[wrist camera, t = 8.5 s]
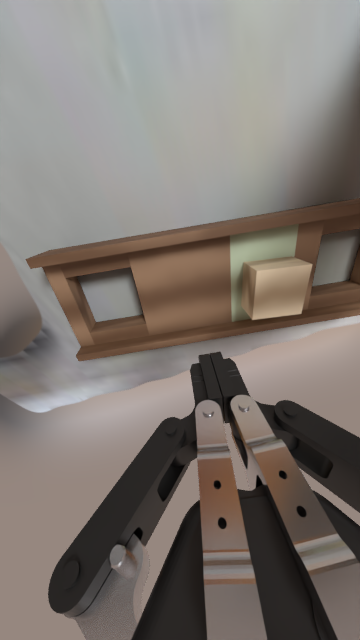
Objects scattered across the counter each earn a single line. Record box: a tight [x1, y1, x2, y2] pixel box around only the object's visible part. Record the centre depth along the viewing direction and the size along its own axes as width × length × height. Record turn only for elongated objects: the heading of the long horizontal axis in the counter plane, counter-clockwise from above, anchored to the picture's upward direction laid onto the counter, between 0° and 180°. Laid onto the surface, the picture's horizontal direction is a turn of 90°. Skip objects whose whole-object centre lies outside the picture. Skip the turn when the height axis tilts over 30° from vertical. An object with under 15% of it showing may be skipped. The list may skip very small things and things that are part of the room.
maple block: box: [241, 256, 313, 320], centre depth 24 cm, size 6×6×4 cm
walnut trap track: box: [26, 198, 360, 361], centre depth 26 cm, size 14×42×5 cm, turn 98°
